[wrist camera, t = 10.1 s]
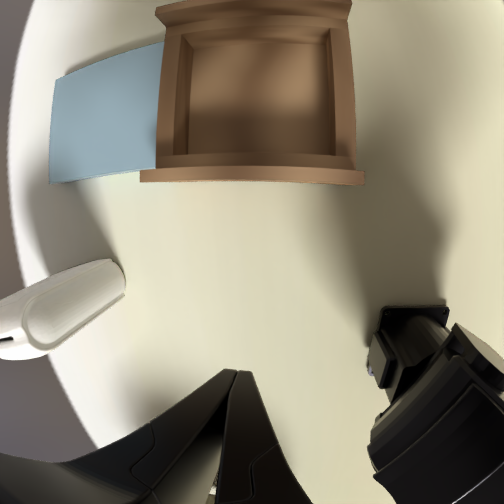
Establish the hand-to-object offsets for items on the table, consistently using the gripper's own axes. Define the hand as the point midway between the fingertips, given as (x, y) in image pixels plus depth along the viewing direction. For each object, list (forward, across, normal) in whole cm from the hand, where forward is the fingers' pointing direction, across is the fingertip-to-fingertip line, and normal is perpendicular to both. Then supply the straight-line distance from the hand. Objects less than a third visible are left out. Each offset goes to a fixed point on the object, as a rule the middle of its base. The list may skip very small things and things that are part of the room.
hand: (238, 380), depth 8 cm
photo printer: (+13, +17, +3) cm, 22 cm away
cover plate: (+14, +13, -12) cm, 22 cm away
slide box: (+13, +1, -12) cm, 18 cm away
